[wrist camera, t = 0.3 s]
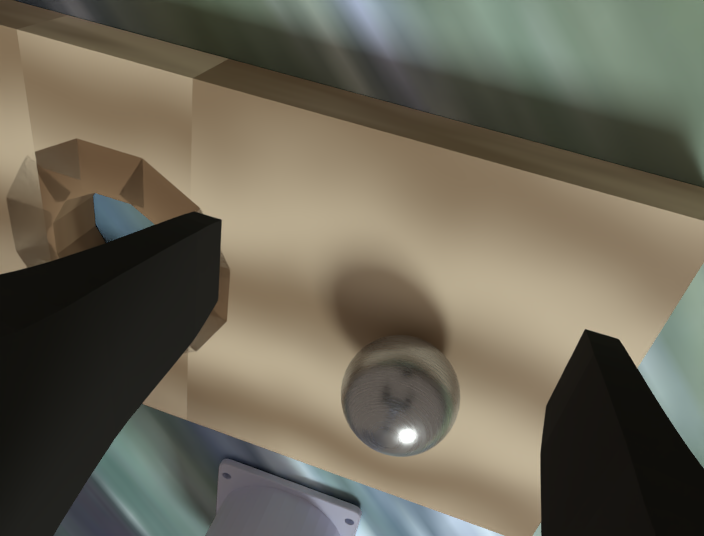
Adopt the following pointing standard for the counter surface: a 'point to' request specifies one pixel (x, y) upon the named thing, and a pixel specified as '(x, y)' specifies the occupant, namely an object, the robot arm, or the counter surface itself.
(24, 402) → the robot arm
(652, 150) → the counter surface
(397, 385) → the ball
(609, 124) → the counter surface
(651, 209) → the deck
